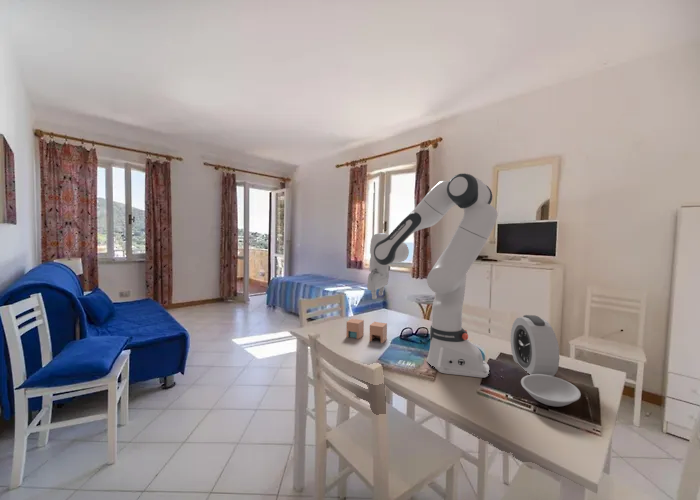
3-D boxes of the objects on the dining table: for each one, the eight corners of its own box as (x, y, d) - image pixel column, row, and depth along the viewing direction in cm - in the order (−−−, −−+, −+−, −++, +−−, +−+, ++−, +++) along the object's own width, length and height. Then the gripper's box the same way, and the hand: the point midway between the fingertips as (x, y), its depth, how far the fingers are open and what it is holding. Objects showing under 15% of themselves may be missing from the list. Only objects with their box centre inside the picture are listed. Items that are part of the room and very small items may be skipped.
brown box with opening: (386, 338, 139) (386, 323, 139) (382, 343, 133) (382, 327, 133) (374, 336, 142) (374, 321, 141) (369, 341, 136) (369, 325, 136)
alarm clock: (509, 356, 120) (511, 308, 119) (529, 357, 119) (530, 309, 118) (535, 381, 99) (537, 324, 98) (558, 383, 98) (561, 325, 97)
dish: (573, 427, 75) (574, 408, 74) (512, 404, 85) (513, 387, 85) (584, 401, 87) (585, 385, 87) (529, 383, 97) (530, 369, 97)
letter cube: (360, 335, 143) (360, 327, 143) (357, 338, 140) (357, 329, 140) (353, 334, 145) (353, 326, 145) (349, 337, 142) (349, 328, 141)
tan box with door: (363, 335, 144) (363, 320, 144) (358, 339, 138) (358, 323, 138) (351, 333, 147) (351, 318, 146) (346, 337, 141) (346, 321, 141)
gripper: (378, 270, 125) (376, 302, 126) (391, 266, 144) (390, 294, 144) (364, 269, 127) (363, 300, 128) (379, 265, 146) (378, 292, 147)
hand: (377, 297), depth 136 cm, fingers open, 8 cm apart
